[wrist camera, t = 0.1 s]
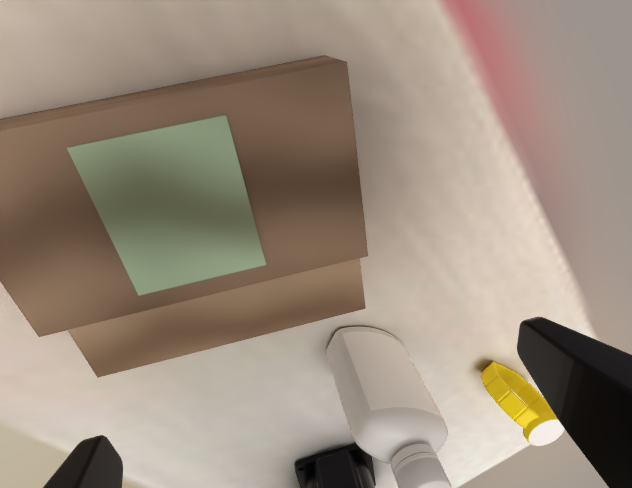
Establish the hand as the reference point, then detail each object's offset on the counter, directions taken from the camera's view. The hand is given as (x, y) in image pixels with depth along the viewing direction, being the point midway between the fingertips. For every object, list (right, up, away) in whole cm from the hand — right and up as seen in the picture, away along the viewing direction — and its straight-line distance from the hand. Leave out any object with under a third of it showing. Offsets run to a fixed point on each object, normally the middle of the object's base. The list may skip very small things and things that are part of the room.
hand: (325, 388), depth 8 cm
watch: (+15, -7, +25) cm, 30 cm away
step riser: (-6, +4, +13) cm, 15 cm away
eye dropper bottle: (+3, -4, +20) cm, 21 cm away
